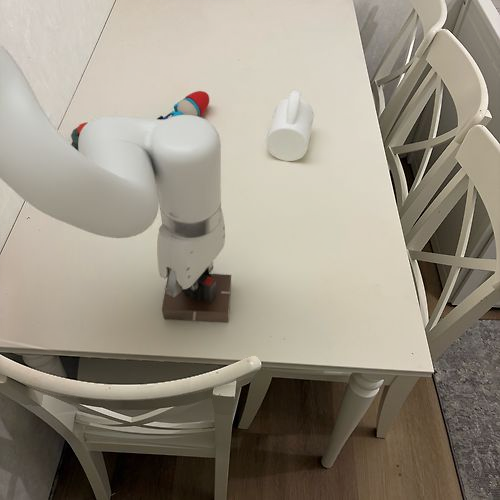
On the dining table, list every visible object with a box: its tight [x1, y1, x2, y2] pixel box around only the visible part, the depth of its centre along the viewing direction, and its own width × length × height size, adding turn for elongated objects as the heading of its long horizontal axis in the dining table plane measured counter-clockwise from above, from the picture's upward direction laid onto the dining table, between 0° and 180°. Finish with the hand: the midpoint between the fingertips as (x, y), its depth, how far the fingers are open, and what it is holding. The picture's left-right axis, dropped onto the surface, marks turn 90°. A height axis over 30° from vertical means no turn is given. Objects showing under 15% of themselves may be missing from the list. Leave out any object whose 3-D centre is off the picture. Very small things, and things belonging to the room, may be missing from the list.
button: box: [76, 121, 89, 135], centre depth 95 cm, size 4×4×2 cm
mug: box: [266, 89, 315, 162], centre depth 97 cm, size 8×10×12 cm
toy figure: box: [156, 90, 210, 120], centre depth 103 cm, size 8×5×15 cm
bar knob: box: [198, 274, 216, 304], centre depth 73 cm, size 6×2×5 cm, turn 58°
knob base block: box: [161, 273, 232, 323], centre depth 76 cm, size 10×10×3 cm
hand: (197, 290), depth 75 cm, fingers closed on bar knob
